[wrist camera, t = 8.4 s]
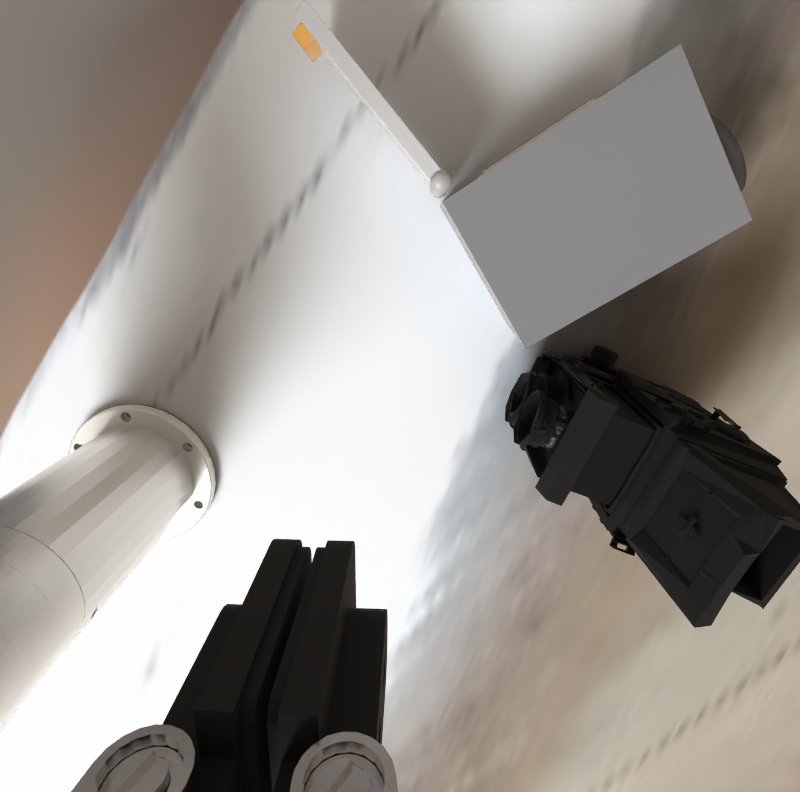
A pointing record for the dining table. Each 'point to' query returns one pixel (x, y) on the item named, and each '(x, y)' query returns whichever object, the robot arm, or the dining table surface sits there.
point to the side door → (367, 95)
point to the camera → (660, 479)
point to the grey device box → (602, 200)
